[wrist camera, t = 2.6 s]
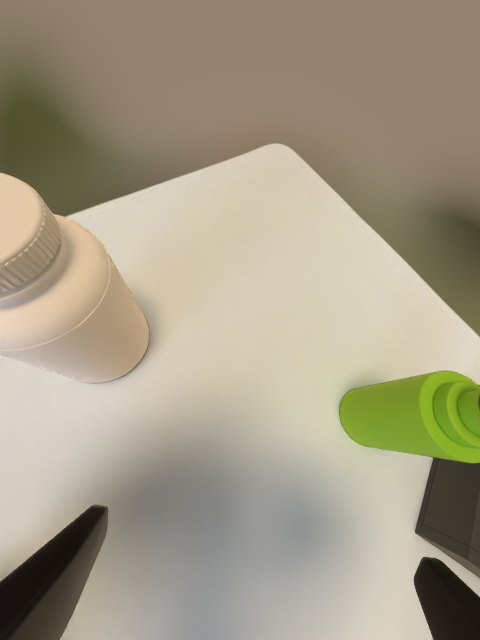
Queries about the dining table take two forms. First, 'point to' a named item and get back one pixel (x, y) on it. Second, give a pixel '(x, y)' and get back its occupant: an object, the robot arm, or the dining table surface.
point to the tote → (453, 511)
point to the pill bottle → (62, 294)
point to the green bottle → (417, 416)
